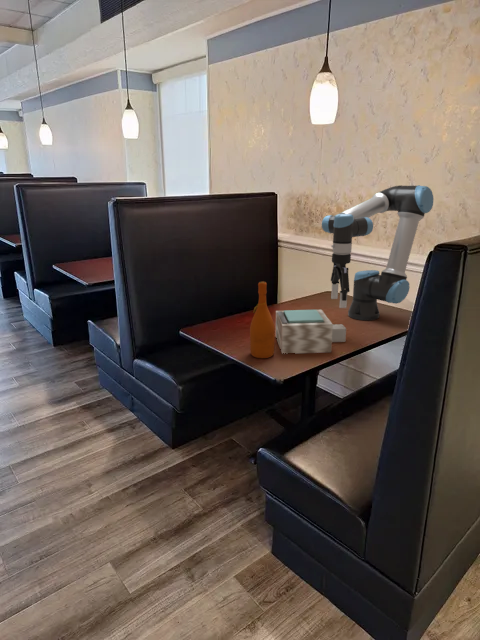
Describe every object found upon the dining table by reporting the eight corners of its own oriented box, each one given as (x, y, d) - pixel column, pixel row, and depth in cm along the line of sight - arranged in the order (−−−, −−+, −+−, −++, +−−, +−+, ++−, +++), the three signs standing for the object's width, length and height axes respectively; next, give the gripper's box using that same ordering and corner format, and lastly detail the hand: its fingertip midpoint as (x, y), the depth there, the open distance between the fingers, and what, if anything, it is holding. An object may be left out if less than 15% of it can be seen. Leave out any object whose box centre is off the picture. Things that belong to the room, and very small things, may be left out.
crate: (319, 335, 194) (321, 308, 190) (331, 352, 175) (332, 323, 171) (275, 336, 193) (275, 309, 189) (282, 353, 174) (282, 324, 170)
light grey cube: (341, 336, 191) (342, 324, 190) (345, 341, 186) (346, 328, 184) (328, 337, 191) (328, 324, 189) (331, 342, 186) (332, 329, 184)
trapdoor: (315, 311, 187) (315, 309, 187) (323, 322, 174) (323, 319, 174) (283, 312, 186) (283, 310, 186) (288, 323, 173) (289, 320, 173)
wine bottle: (271, 349, 179) (272, 278, 169) (277, 358, 170) (277, 284, 160) (248, 350, 178) (247, 279, 168) (252, 360, 168) (251, 285, 159)
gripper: (325, 248, 188) (322, 295, 195) (340, 258, 165) (337, 312, 171) (342, 248, 188) (339, 295, 195) (360, 258, 165) (356, 311, 172)
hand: (338, 303), depth 183 cm, fingers open, 13 cm apart
